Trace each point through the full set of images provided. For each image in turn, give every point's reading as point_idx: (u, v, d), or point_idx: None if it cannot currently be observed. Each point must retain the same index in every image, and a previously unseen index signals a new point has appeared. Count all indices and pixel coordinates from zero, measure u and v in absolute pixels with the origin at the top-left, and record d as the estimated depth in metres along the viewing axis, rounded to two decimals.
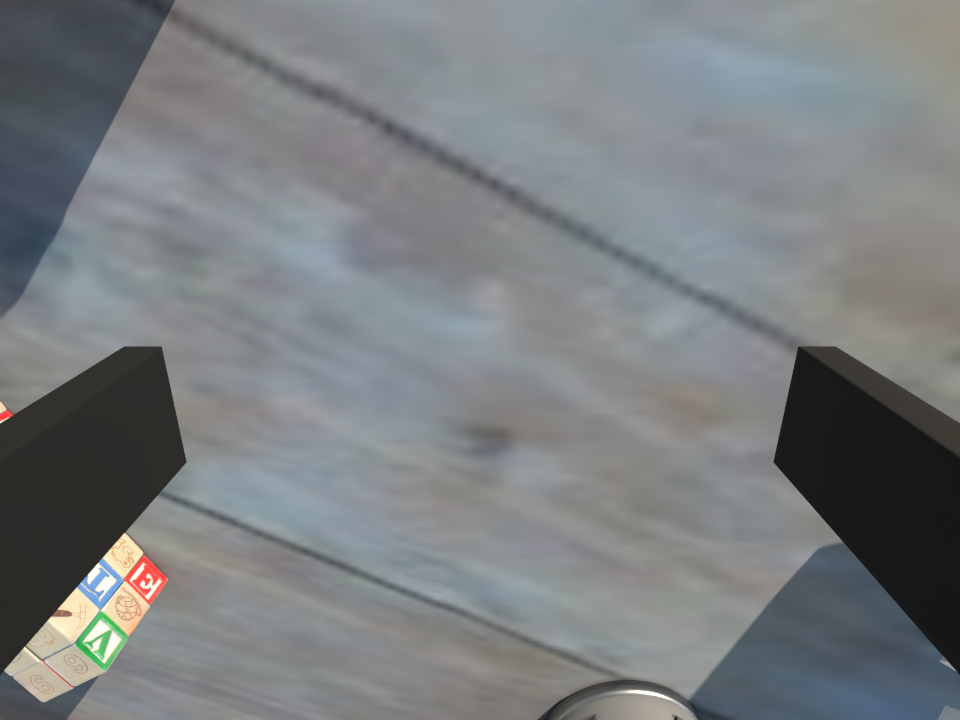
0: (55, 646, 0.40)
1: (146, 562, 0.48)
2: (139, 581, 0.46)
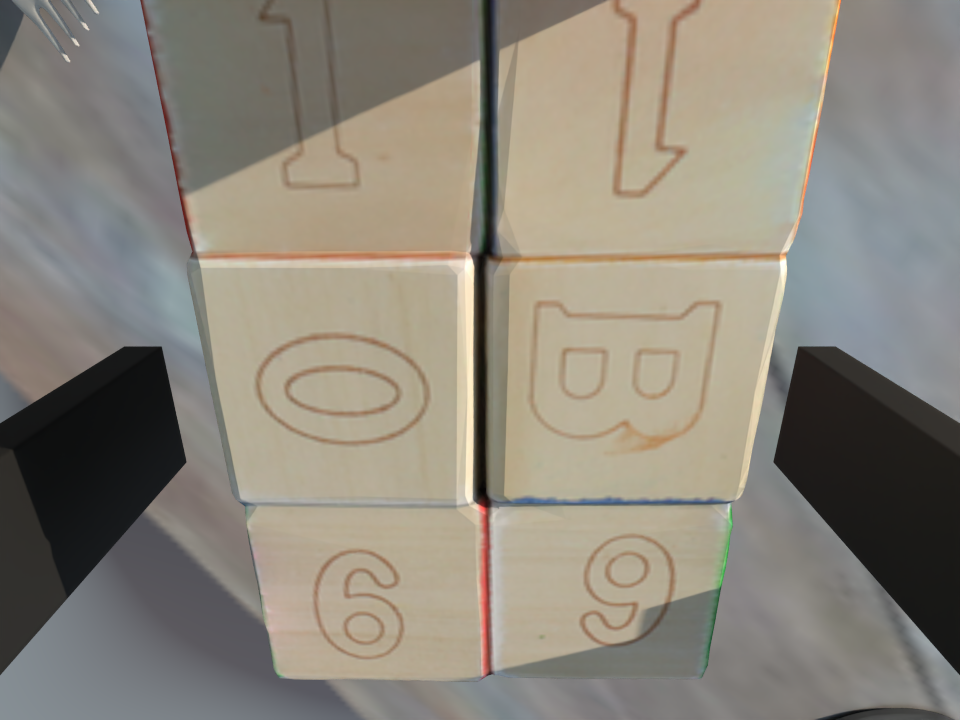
0: (645, 470, 0.07)
1: None
2: None
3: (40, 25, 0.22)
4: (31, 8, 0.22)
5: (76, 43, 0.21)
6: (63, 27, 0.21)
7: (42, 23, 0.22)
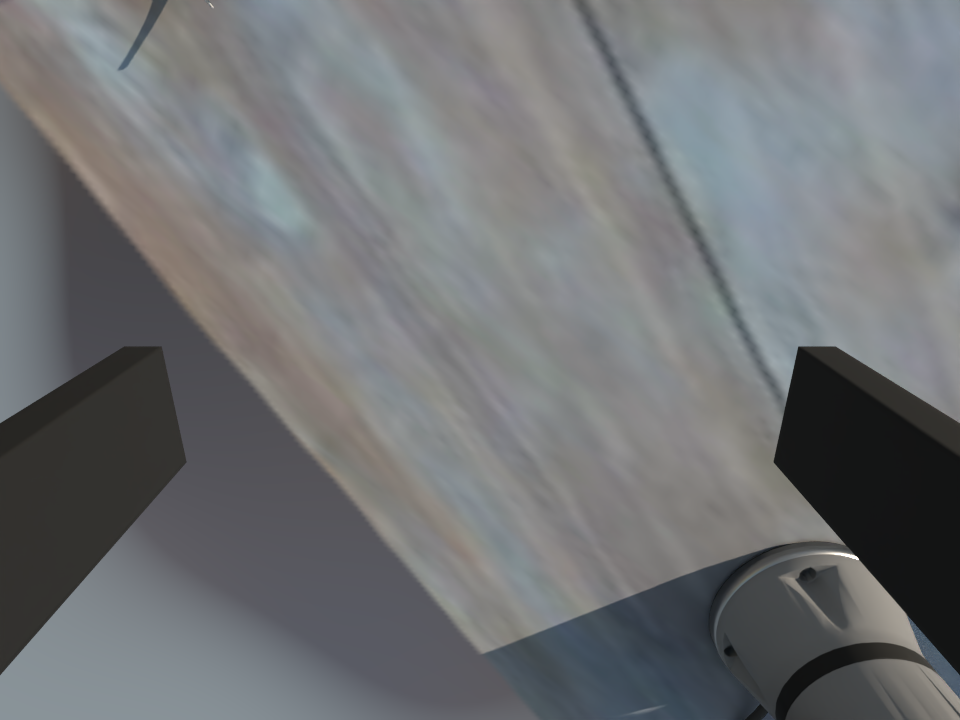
0: None
1: None
2: None
3: None
4: None
5: None
6: None
7: None
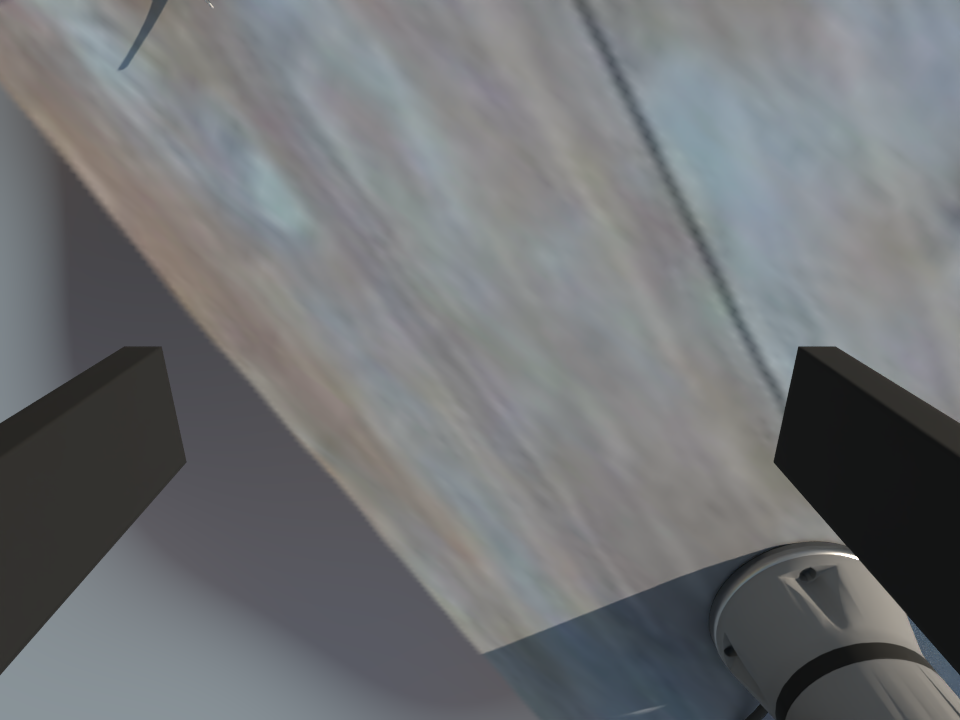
0: None
1: None
2: None
3: None
4: None
5: None
6: None
7: None
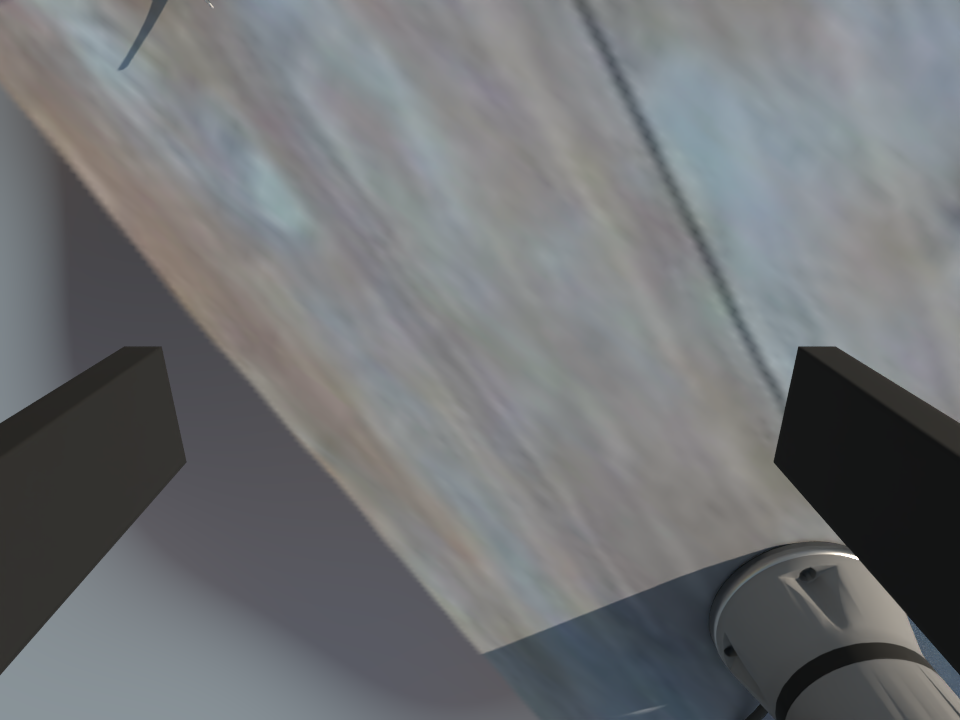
0: None
1: None
2: None
3: None
4: None
5: None
6: None
7: None
